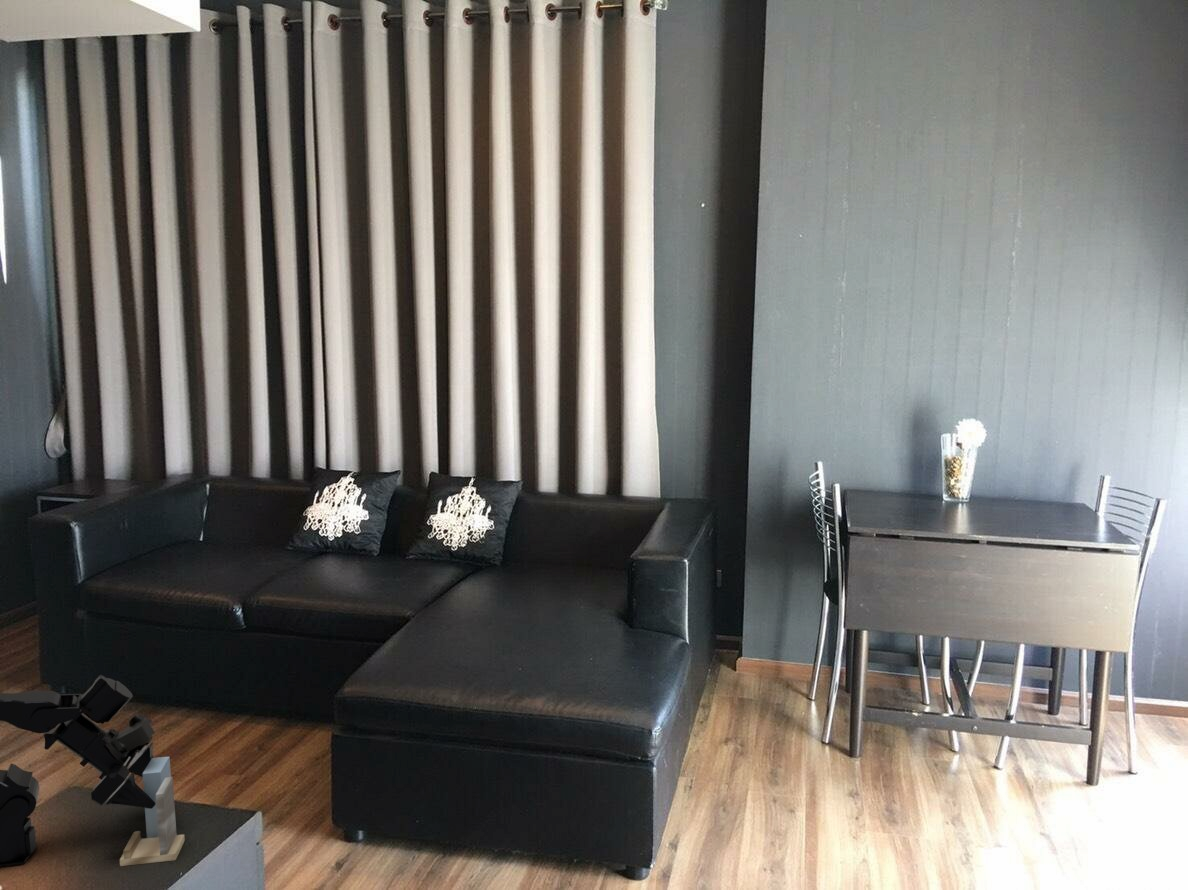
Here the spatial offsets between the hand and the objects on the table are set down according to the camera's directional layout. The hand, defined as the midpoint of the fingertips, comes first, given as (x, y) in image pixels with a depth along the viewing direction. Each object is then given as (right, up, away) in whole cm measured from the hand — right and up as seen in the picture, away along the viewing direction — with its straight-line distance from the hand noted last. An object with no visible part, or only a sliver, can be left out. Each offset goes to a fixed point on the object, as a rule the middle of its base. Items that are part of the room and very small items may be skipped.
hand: (160, 794), depth 173 cm
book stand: (+1, -8, -6) cm, 10 cm away
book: (0, -7, +1) cm, 7 cm away
